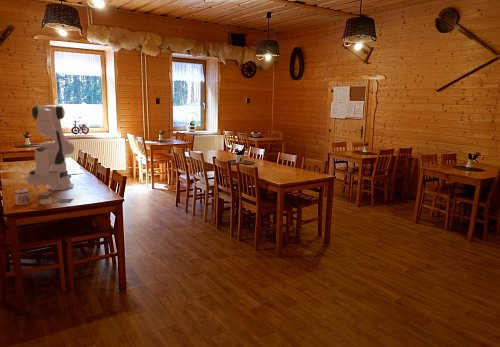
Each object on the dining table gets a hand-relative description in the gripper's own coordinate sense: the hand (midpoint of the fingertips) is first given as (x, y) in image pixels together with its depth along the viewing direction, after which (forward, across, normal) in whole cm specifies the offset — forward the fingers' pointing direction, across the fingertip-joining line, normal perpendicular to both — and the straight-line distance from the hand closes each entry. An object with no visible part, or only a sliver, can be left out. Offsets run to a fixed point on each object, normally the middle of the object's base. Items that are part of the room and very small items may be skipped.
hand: (45, 190), depth 262 cm
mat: (+10, -11, -3) cm, 15 cm away
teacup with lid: (+10, +15, -4) cm, 19 cm away
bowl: (+10, 0, +1) cm, 10 cm away
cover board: (+5, 0, +1) cm, 5 cm away
